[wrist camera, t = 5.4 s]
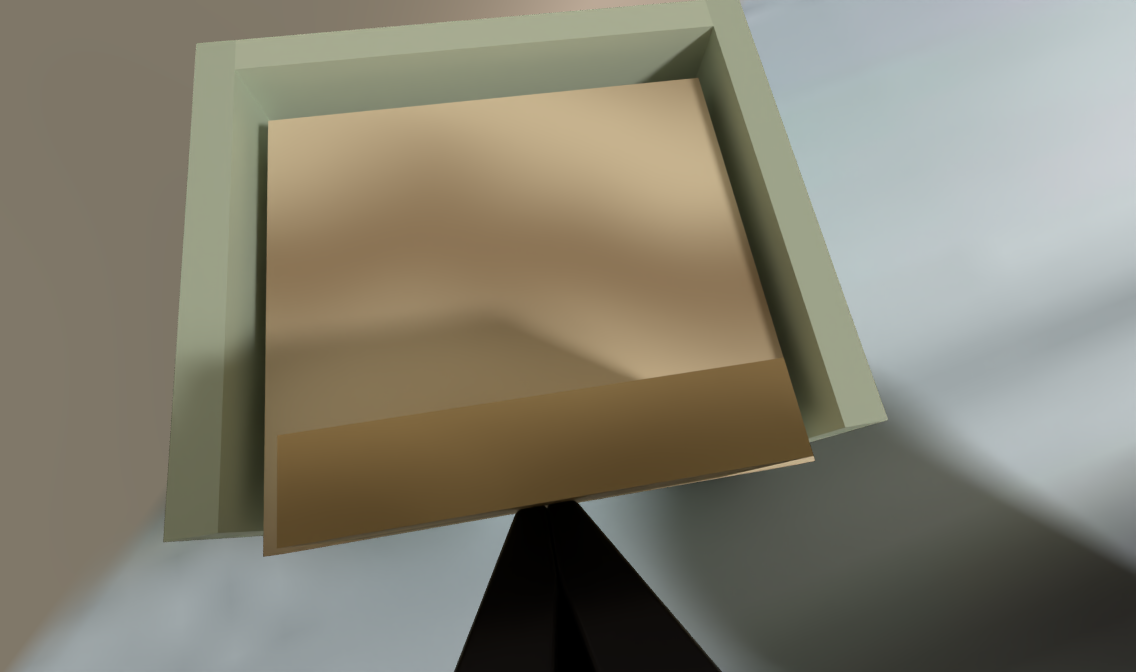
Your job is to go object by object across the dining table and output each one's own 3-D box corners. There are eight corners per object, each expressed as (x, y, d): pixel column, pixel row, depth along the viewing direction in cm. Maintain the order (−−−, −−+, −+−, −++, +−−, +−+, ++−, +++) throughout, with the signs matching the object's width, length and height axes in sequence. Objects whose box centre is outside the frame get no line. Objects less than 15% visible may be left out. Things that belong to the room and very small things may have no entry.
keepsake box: (738, 462, 17) (888, 420, 9) (340, 530, 15) (162, 542, 8) (666, 187, 20) (738, -4, 12) (330, 227, 19) (196, 43, 11)
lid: (797, 464, 10) (956, 431, 6) (283, 553, 9) (93, 579, 5) (690, 99, 13) (754, -83, 9) (283, 142, 12) (156, -40, 8)
